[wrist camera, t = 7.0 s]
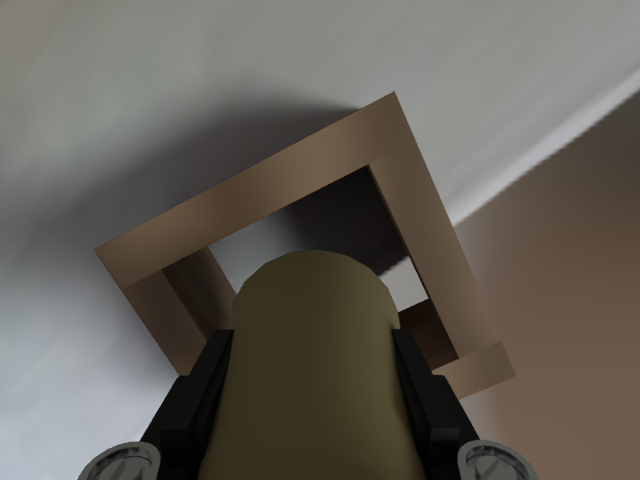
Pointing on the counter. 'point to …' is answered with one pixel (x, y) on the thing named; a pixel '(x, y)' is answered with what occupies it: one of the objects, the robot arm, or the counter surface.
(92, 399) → the counter surface
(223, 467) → the cork
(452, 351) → the box
